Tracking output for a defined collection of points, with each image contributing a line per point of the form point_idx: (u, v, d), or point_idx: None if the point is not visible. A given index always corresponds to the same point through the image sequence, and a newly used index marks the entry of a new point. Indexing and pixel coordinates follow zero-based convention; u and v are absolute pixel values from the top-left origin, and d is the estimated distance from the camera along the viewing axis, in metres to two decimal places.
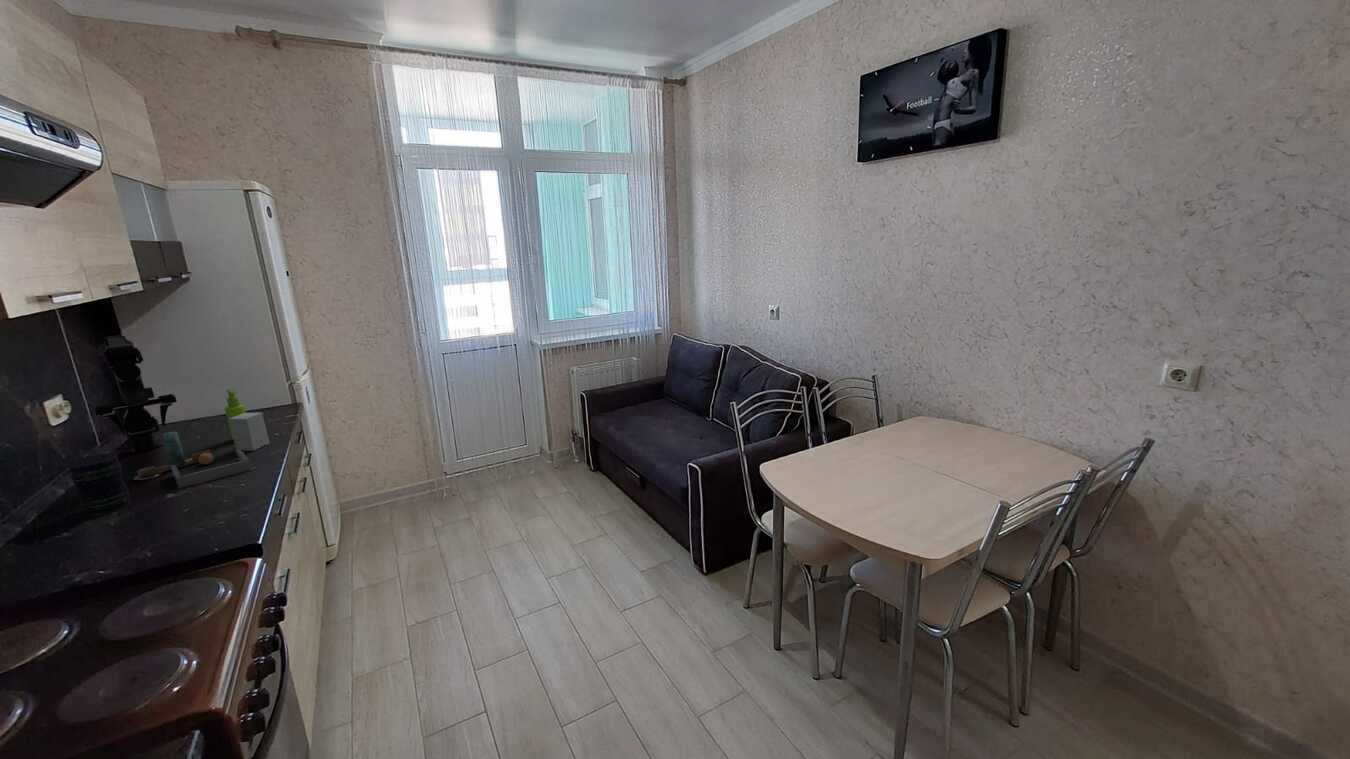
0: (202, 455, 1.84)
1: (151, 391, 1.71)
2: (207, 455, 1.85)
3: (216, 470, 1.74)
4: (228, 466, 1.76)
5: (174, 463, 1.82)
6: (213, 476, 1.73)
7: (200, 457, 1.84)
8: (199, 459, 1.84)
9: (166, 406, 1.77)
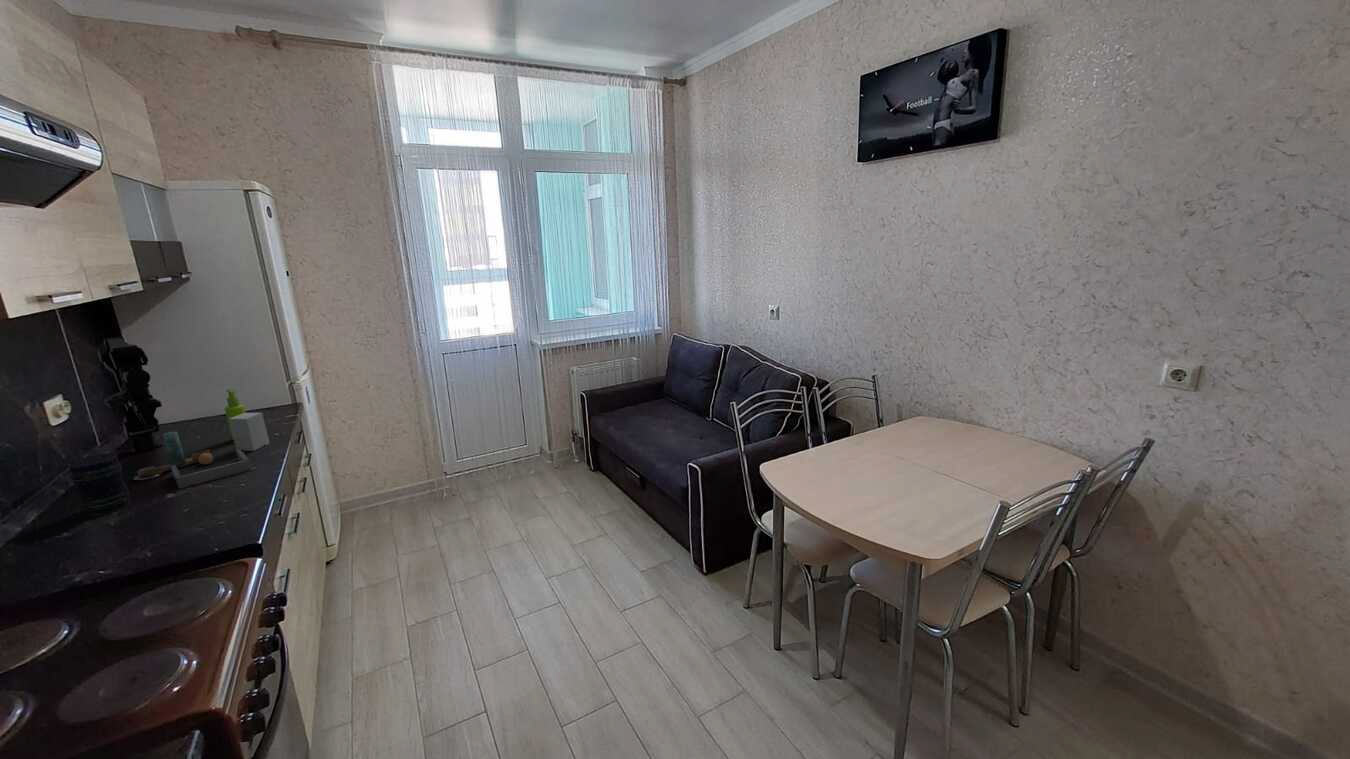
0: (202, 455, 1.84)
1: (111, 400, 1.77)
2: (207, 455, 1.85)
3: (216, 470, 1.74)
4: (228, 466, 1.76)
5: (174, 463, 1.82)
6: (213, 476, 1.73)
7: (200, 457, 1.84)
8: (199, 459, 1.84)
9: (135, 411, 1.82)
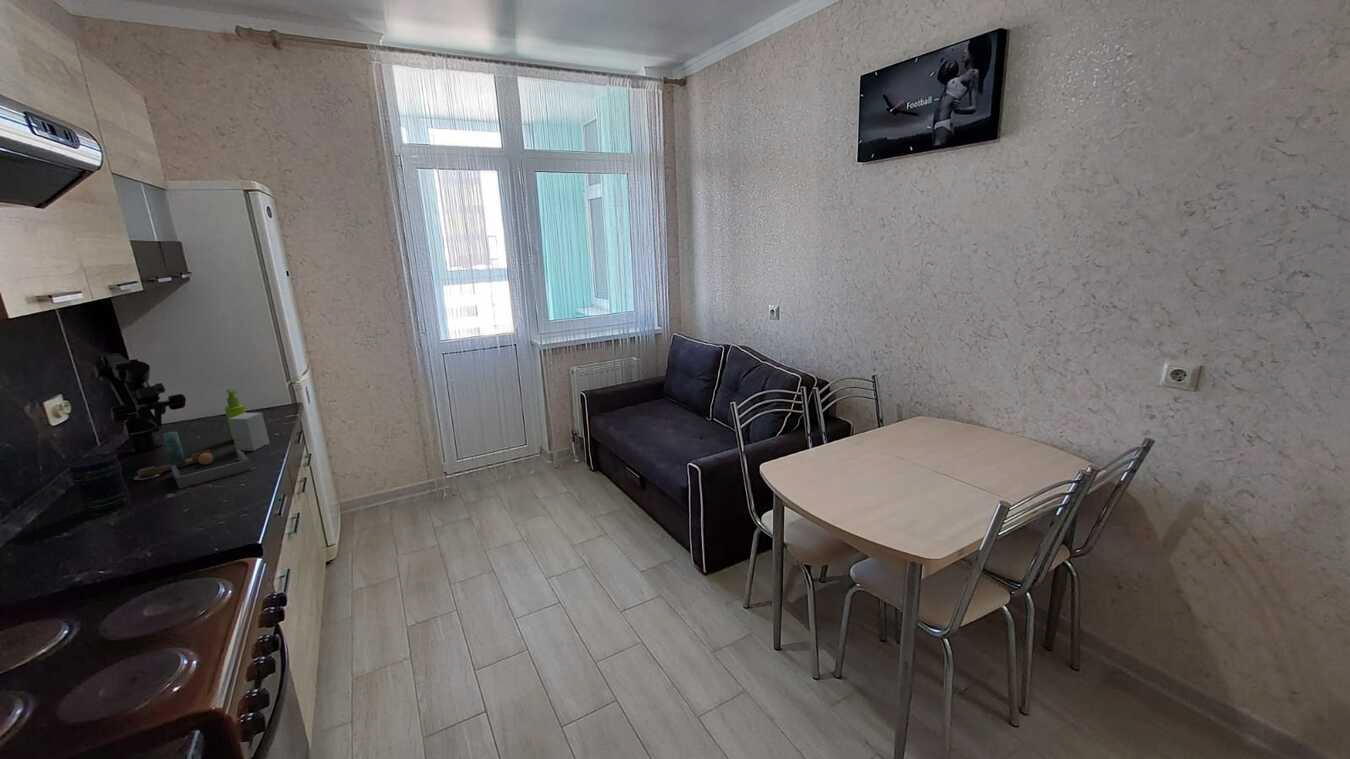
0: (202, 455, 1.84)
1: (161, 385, 1.86)
2: (207, 455, 1.85)
3: (216, 470, 1.74)
4: (228, 466, 1.76)
5: (174, 463, 1.82)
6: (213, 476, 1.73)
7: (200, 457, 1.84)
8: (199, 459, 1.84)
9: (160, 406, 1.86)
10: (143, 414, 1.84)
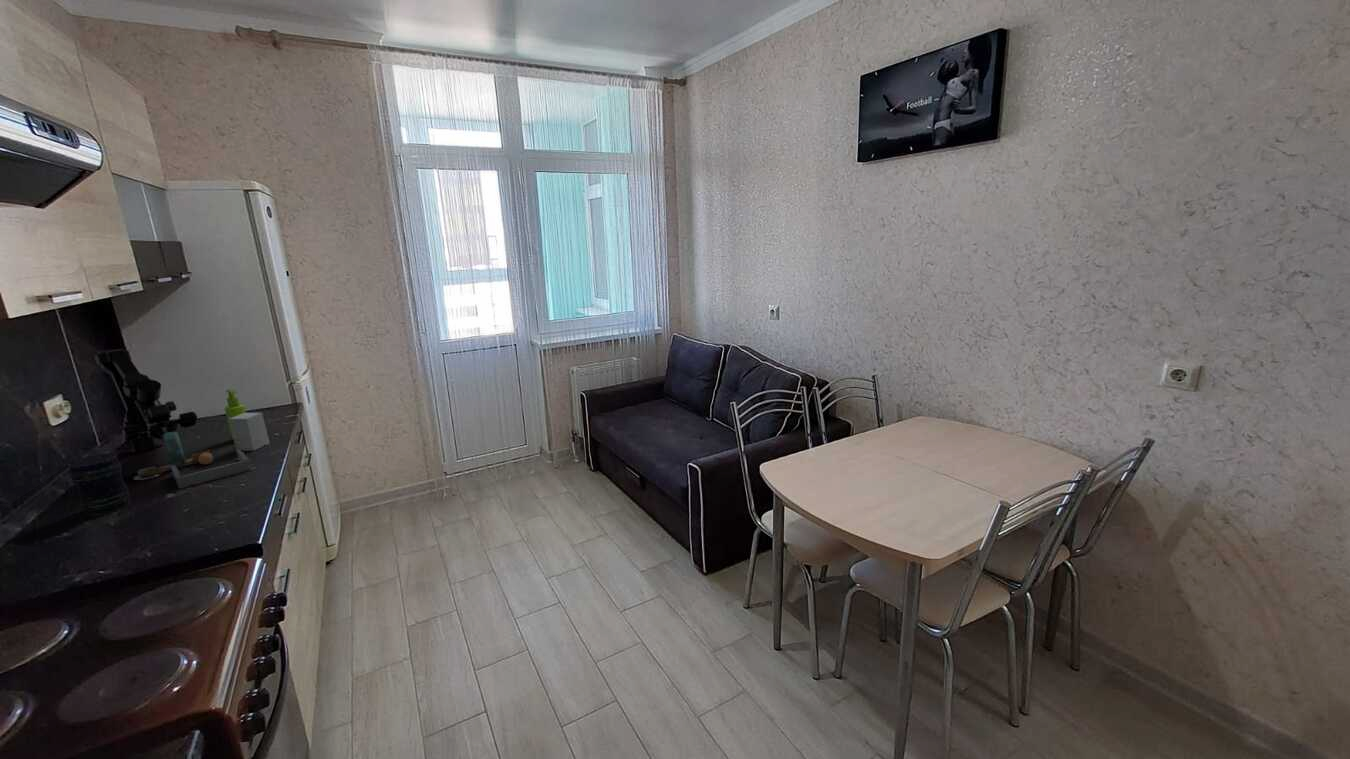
0: (202, 455, 1.84)
1: (173, 403, 1.84)
2: (207, 455, 1.85)
3: (216, 470, 1.74)
4: (228, 466, 1.76)
5: (174, 463, 1.81)
6: (213, 476, 1.73)
7: (200, 457, 1.84)
8: (199, 459, 1.84)
9: (172, 424, 1.84)
10: (154, 433, 1.82)
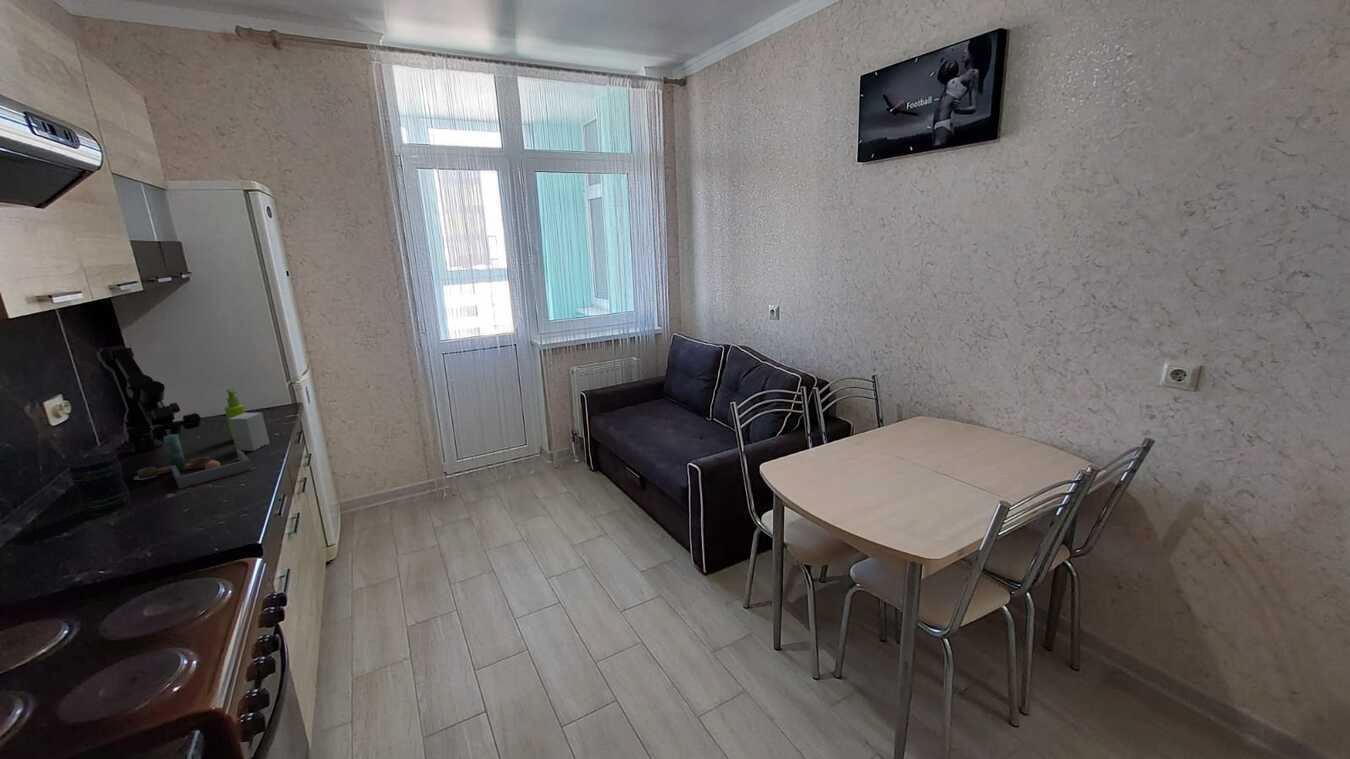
0: (208, 462, 1.78)
1: (176, 404, 1.82)
2: None
3: (216, 470, 1.74)
4: (228, 466, 1.76)
5: None
6: (213, 476, 1.73)
7: None
8: (206, 465, 1.77)
9: (175, 426, 1.82)
10: (158, 435, 1.80)
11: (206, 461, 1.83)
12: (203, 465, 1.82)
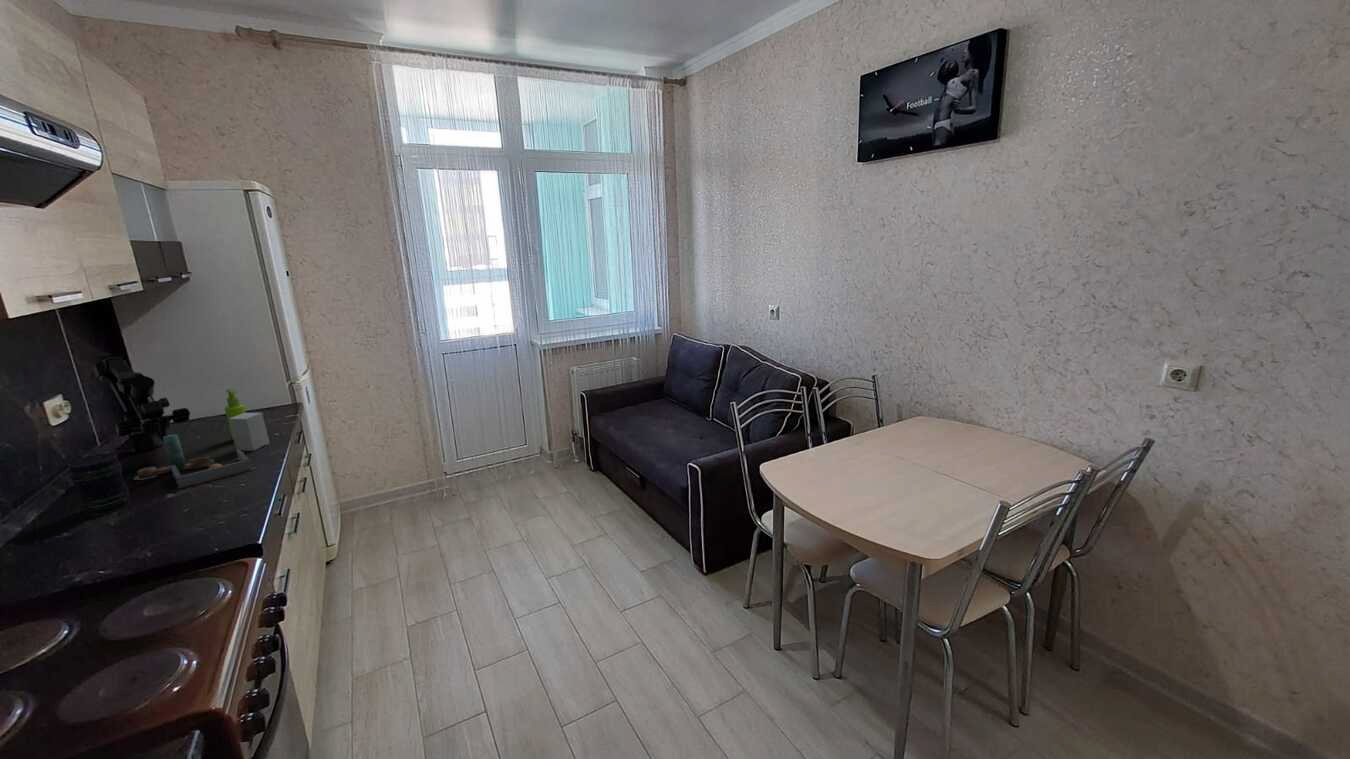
0: None
1: (166, 399, 1.87)
2: None
3: (216, 470, 1.74)
4: (228, 466, 1.76)
5: None
6: (213, 476, 1.73)
7: None
8: None
9: (165, 420, 1.87)
10: (148, 428, 1.85)
11: (206, 461, 1.83)
12: (203, 465, 1.82)
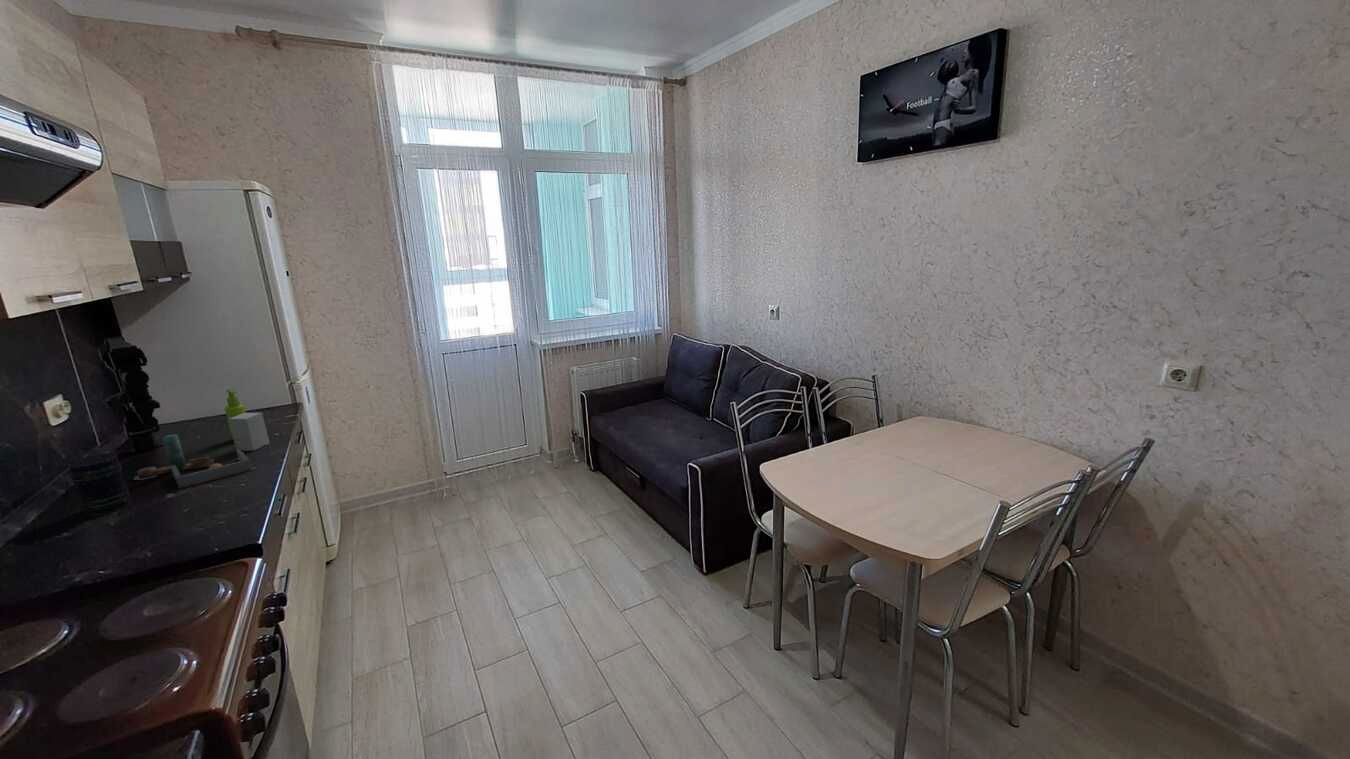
0: None
1: (110, 401, 1.76)
2: None
3: (216, 470, 1.74)
4: (228, 466, 1.76)
5: None
6: (213, 476, 1.73)
7: None
8: None
9: (133, 411, 1.82)
10: None
11: (206, 461, 1.83)
12: (203, 465, 1.82)
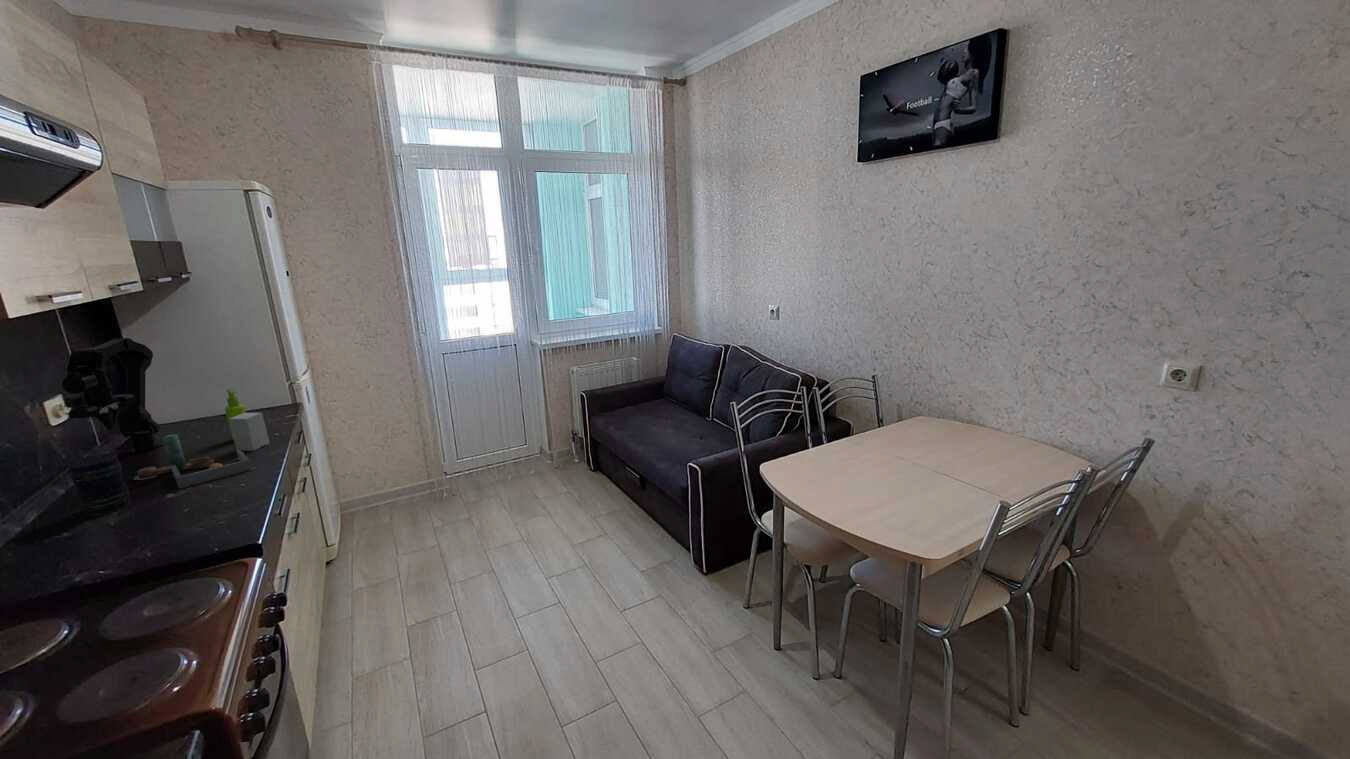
0: None
1: None
2: None
3: (216, 470, 1.74)
4: (228, 466, 1.76)
5: None
6: (213, 476, 1.73)
7: None
8: None
9: None
10: None
11: (206, 461, 1.83)
12: (203, 465, 1.82)
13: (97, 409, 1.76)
